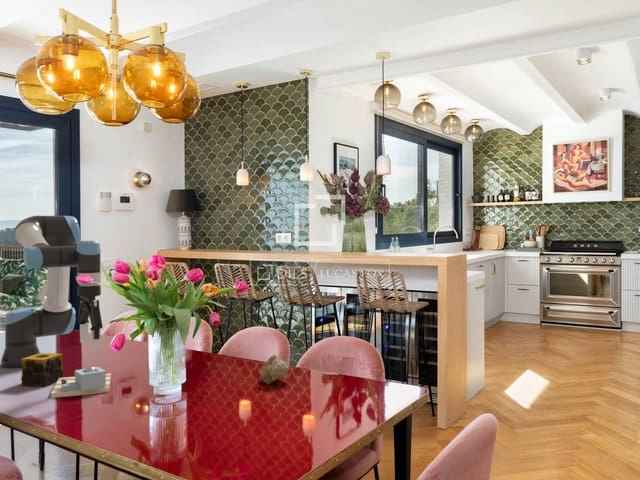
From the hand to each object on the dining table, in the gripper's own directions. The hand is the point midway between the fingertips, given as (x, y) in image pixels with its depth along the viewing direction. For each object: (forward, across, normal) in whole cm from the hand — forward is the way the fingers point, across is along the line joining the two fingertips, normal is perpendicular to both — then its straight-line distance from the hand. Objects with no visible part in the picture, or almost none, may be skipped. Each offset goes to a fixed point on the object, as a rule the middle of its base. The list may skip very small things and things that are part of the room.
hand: (89, 345), depth 188 cm
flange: (+14, 0, -3) cm, 15 cm away
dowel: (+14, -3, -8) cm, 17 cm away
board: (+16, -6, -1) cm, 17 cm away
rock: (+16, +33, +54) cm, 65 cm away
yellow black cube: (+16, -22, -11) cm, 30 cm away
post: (+14, 0, 0) cm, 14 cm away
